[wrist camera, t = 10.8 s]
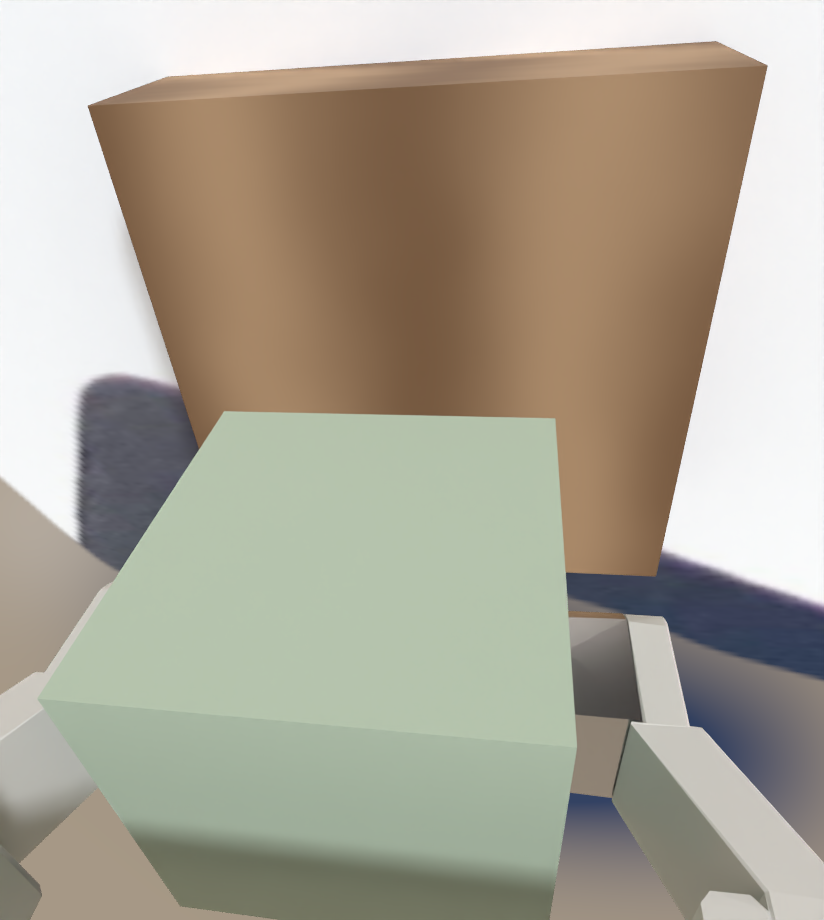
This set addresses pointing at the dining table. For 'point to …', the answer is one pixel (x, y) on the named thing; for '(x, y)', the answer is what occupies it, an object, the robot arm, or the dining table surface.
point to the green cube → (341, 671)
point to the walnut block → (452, 250)
